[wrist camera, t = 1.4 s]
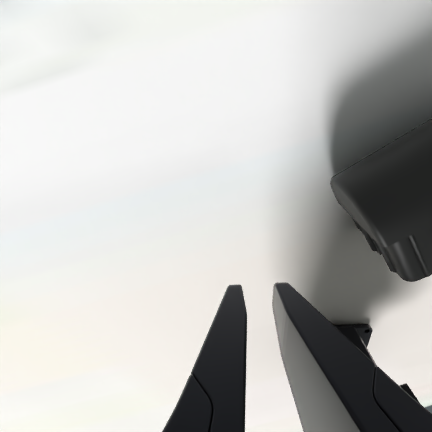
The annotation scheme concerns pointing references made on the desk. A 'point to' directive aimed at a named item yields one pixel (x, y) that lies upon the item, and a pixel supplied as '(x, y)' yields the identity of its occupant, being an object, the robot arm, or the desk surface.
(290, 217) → the desk surface
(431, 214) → the end cap
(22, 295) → the desk surface
